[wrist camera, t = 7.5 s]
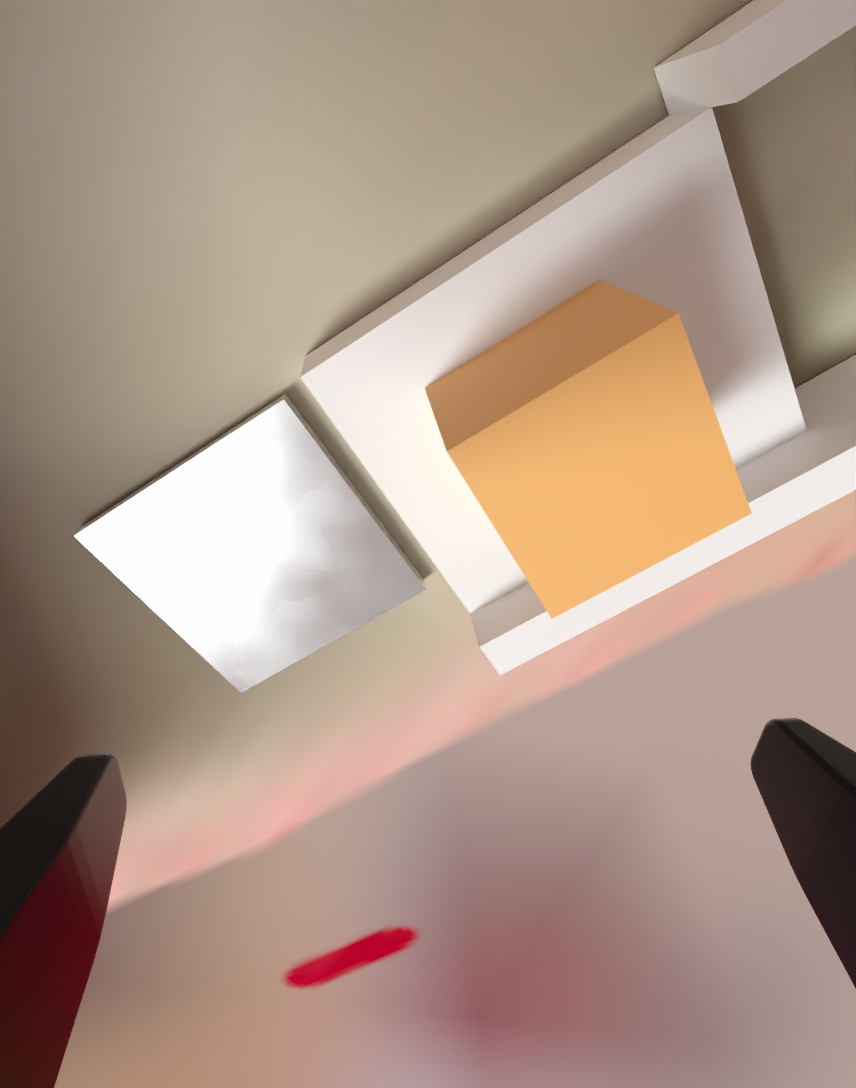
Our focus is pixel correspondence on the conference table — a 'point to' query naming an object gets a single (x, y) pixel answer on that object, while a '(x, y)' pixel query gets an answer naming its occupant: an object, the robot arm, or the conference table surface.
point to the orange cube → (590, 443)
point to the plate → (255, 548)
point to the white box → (636, 267)
